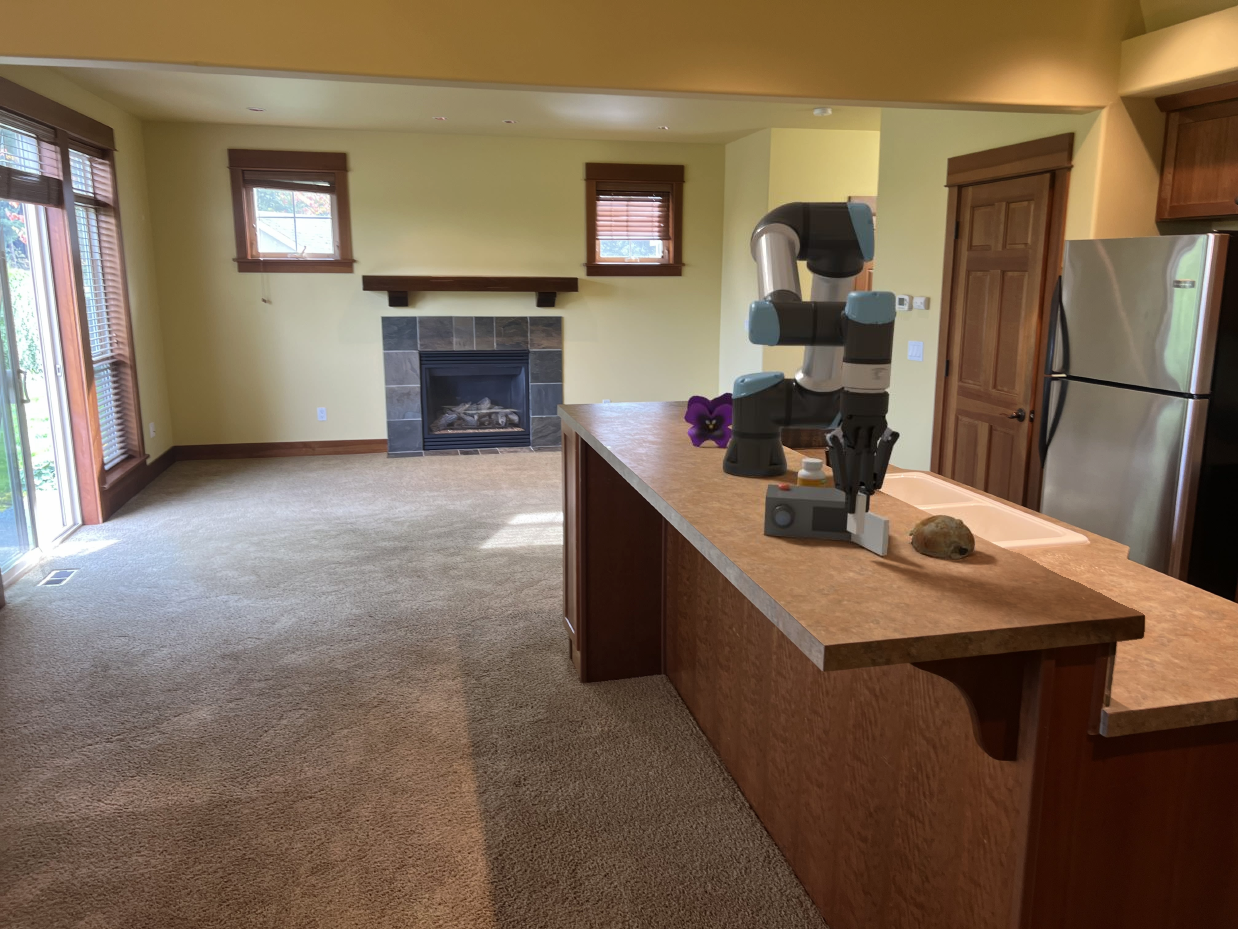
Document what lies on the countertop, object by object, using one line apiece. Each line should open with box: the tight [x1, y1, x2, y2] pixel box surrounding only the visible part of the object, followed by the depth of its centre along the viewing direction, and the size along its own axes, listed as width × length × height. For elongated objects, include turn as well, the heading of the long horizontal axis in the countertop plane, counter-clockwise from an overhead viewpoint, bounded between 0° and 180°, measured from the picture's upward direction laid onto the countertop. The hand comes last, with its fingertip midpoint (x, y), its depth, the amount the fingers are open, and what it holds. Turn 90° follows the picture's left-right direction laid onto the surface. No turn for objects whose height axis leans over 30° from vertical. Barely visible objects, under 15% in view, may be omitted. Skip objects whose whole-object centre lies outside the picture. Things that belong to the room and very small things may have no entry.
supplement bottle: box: [796, 457, 827, 488], centre depth 177 cm, size 5×5×10 cm
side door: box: [850, 510, 890, 557], centre depth 150 cm, size 2×10×6 cm, turn 18°
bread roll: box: [908, 514, 976, 560], centre depth 151 cm, size 10×10×8 cm
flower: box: [683, 392, 733, 449], centre depth 247 cm, size 15×15×14 cm
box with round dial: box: [763, 483, 851, 542], centre depth 161 cm, size 12×16×8 cm
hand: (855, 531), depth 147 cm, fingers closed
